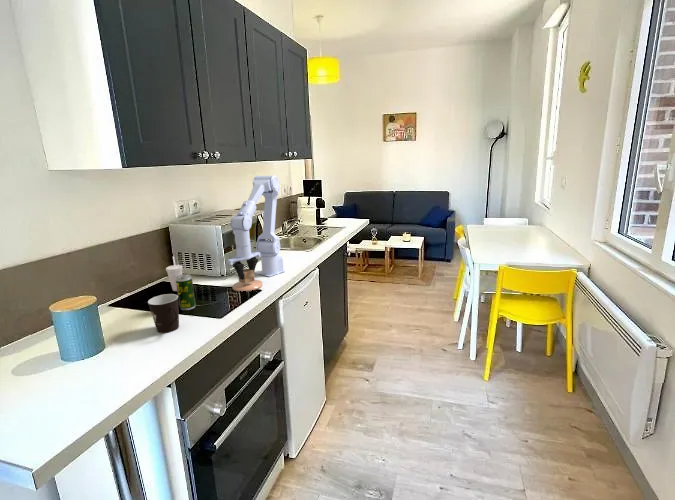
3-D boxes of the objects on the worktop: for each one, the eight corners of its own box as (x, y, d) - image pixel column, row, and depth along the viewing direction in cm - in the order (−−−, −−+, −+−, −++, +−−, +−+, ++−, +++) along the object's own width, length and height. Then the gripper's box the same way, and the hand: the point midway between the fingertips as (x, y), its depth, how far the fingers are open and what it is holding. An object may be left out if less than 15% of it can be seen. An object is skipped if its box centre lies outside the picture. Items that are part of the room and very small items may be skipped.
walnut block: (248, 278, 153) (247, 268, 152) (254, 280, 150) (253, 270, 149) (239, 281, 150) (237, 271, 148) (245, 283, 147) (244, 273, 146)
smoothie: (188, 286, 153) (184, 254, 150) (181, 292, 147) (175, 259, 143) (174, 286, 154) (169, 254, 150) (166, 292, 148) (160, 259, 144)
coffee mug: (153, 325, 118) (148, 297, 115) (182, 320, 121) (178, 292, 118) (151, 341, 107) (146, 310, 105) (183, 335, 111) (178, 304, 108)
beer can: (183, 305, 134) (178, 274, 131) (198, 304, 134) (193, 273, 131) (177, 311, 129) (172, 279, 126) (193, 310, 129) (188, 278, 126)
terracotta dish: (250, 280, 158) (250, 277, 158) (268, 285, 151) (268, 283, 151) (226, 288, 150) (226, 285, 149) (244, 294, 142) (244, 291, 142)
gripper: (252, 240, 154) (255, 271, 157) (221, 247, 143) (225, 280, 147) (262, 242, 149) (265, 274, 153) (232, 250, 139) (236, 283, 142)
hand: (246, 277), depth 149 cm, fingers closed on walnut block, 4 cm apart
